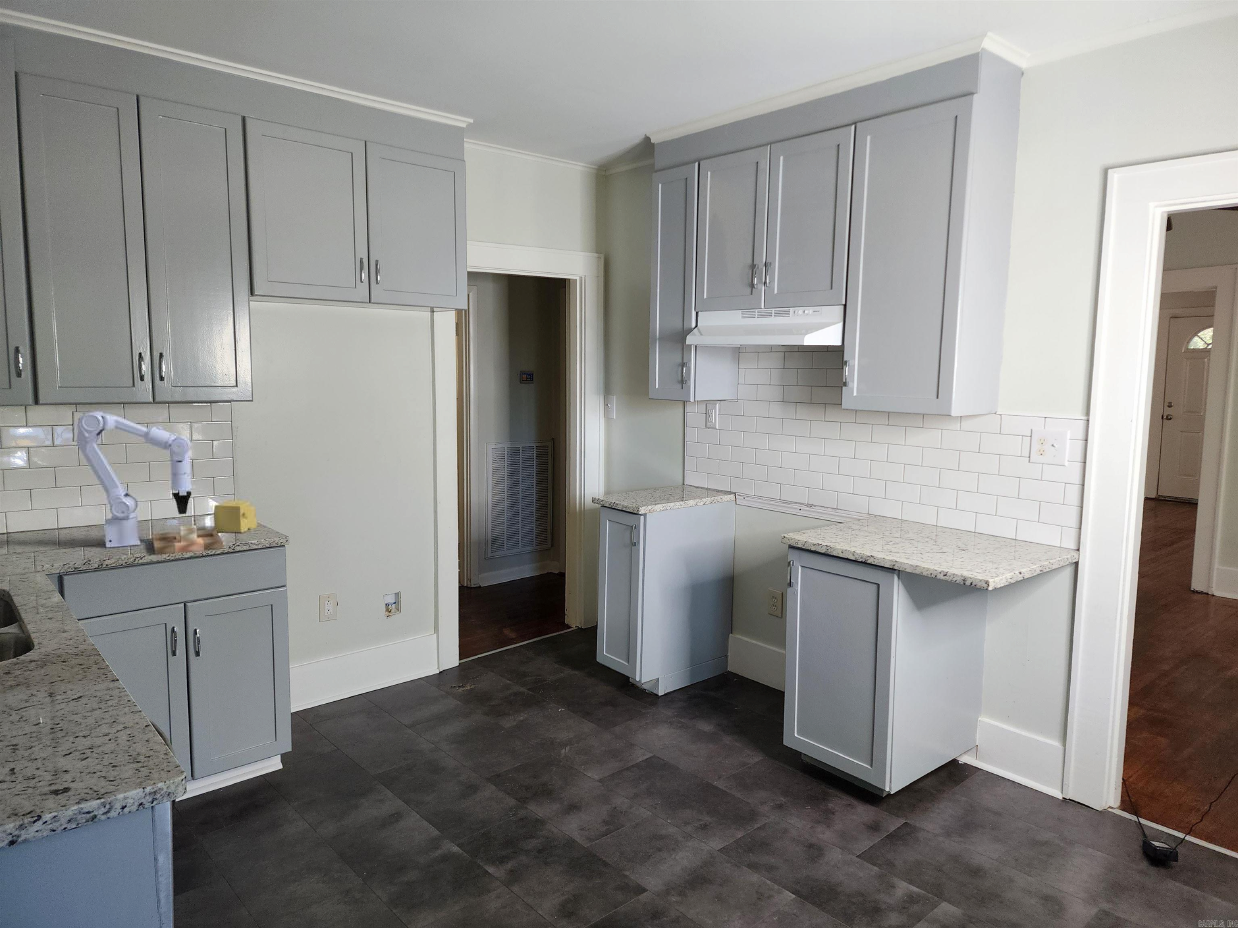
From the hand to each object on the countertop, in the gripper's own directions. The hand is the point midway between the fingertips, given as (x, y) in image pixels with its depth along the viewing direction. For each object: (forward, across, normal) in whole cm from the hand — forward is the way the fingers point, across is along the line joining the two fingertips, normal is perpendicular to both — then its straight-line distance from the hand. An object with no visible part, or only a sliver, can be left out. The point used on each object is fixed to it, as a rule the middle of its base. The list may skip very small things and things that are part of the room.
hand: (182, 513), depth 272 cm
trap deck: (+9, -7, -1) cm, 11 cm away
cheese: (+10, +14, -17) cm, 24 cm away
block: (+7, -13, -1) cm, 15 cm away
